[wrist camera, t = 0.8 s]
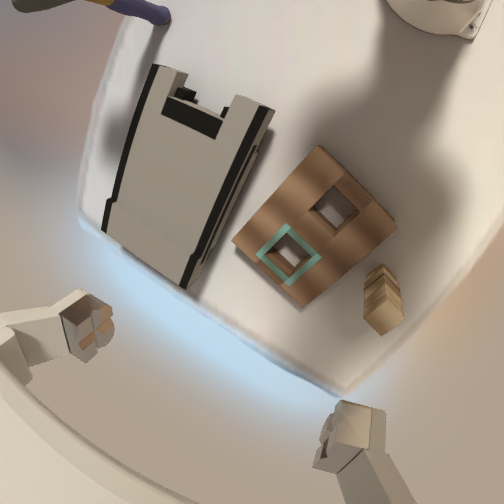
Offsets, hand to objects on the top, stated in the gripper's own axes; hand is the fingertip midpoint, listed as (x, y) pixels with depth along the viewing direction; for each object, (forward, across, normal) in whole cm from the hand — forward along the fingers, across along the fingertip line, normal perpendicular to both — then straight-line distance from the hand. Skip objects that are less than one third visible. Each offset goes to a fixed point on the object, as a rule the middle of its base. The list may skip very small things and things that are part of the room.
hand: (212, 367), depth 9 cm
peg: (+40, -13, +13) cm, 44 cm away
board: (+40, 0, +8) cm, 41 cm away
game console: (+41, +24, +4) cm, 47 cm away
